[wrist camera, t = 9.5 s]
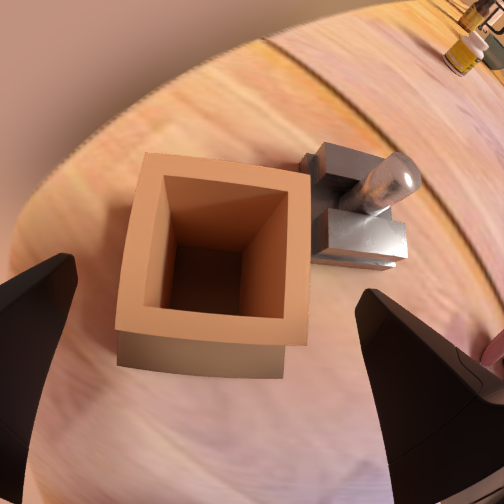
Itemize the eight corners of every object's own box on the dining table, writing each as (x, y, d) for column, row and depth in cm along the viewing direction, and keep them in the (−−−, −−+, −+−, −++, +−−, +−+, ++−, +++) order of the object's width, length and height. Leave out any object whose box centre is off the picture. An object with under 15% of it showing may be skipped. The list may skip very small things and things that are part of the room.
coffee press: (467, 19, 61) (499, -16, 33) (460, 9, 66) (488, -23, 37) (493, 44, 63) (525, 12, 34) (485, 31, 68) (514, 1, 39)
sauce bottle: (458, 21, 52) (485, -9, 33) (471, 34, 52) (499, 4, 33) (455, 21, 50) (483, -11, 31) (469, 34, 50) (498, 3, 31)
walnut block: (271, 371, 17) (283, 378, 15) (127, 359, 16) (116, 365, 13) (278, 219, 20) (290, 205, 17) (145, 203, 18) (139, 187, 16)
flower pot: (494, 68, 46) (510, 54, 38) (497, 77, 44) (514, 62, 35) (474, 47, 46) (490, 31, 38) (475, 54, 43) (492, 37, 35)
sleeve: (250, 333, 15) (306, 345, 7) (155, 324, 14) (114, 329, 6) (255, 242, 16) (310, 175, 9) (166, 231, 15) (145, 152, 8)
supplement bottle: (461, 80, 34) (491, 51, 24) (440, 59, 34) (468, 28, 24) (464, 74, 35) (491, 47, 26) (444, 54, 35) (470, 26, 26)
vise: (383, 270, 20) (455, 247, 13) (298, 262, 19) (357, 228, 12) (376, 181, 22) (432, 135, 15) (299, 163, 21) (343, 100, 14)
